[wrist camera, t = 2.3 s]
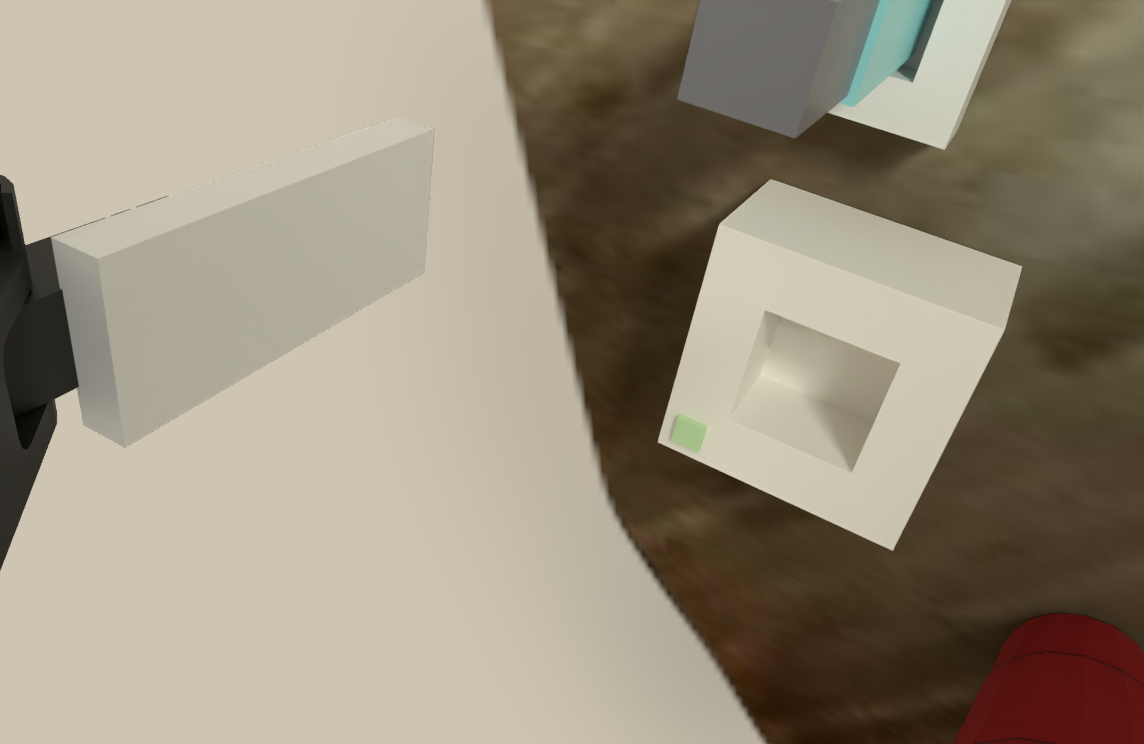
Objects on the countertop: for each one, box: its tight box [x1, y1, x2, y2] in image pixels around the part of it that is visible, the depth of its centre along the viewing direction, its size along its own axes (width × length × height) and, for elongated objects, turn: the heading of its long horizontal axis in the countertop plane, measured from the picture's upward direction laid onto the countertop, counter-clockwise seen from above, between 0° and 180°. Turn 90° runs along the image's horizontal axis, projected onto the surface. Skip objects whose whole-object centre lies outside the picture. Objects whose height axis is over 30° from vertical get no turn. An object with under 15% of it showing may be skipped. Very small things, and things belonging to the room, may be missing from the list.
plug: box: [677, 0, 934, 138], centre depth 26 cm, size 4×4×14 cm
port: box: [658, 179, 1022, 551], centre depth 36 cm, size 10×10×6 cm
